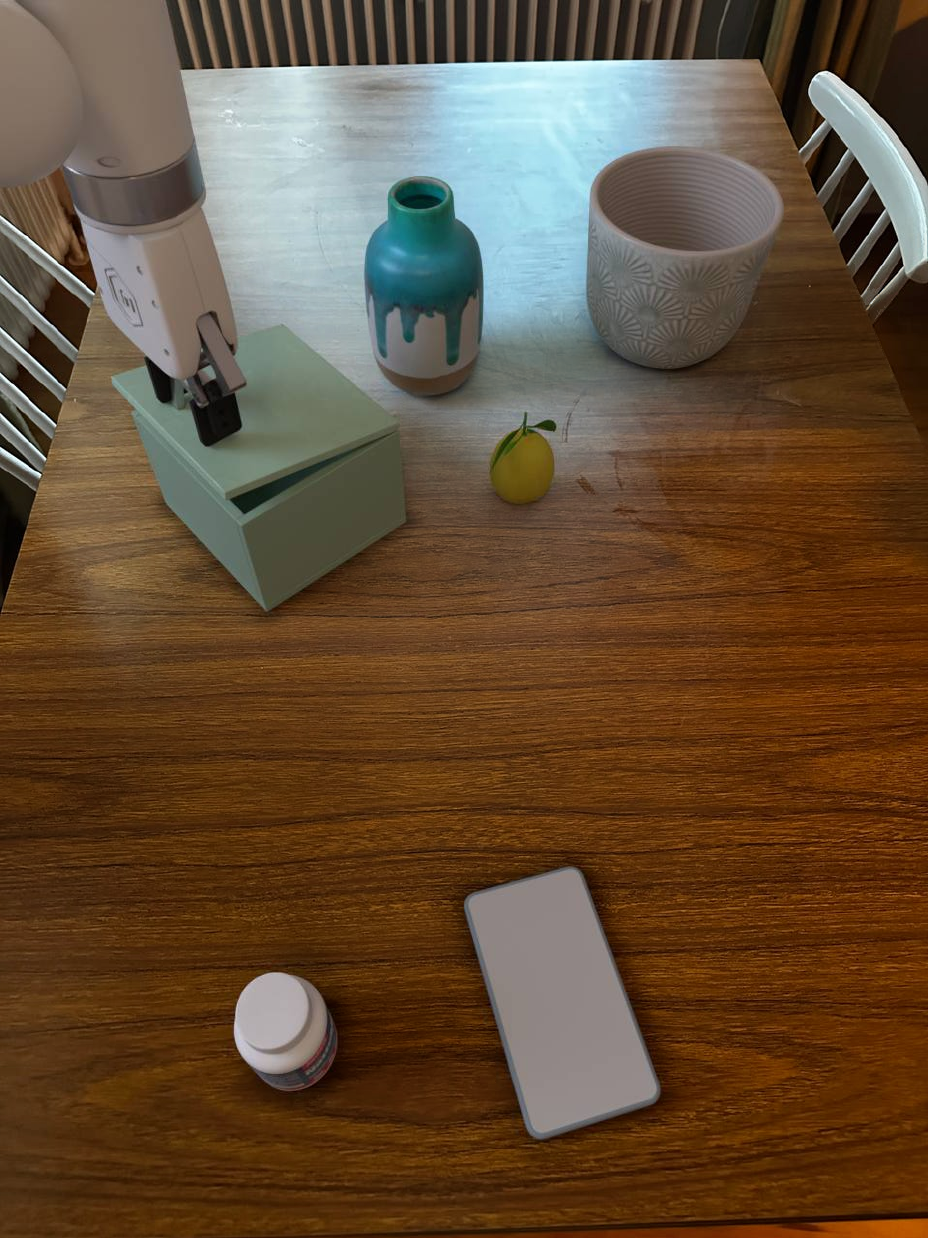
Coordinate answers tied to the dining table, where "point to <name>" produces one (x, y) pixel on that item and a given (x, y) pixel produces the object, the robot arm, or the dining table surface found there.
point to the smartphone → (559, 1003)
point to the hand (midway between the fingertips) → (199, 412)
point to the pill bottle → (285, 1031)
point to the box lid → (266, 413)
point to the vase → (424, 290)
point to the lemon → (523, 464)
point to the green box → (287, 513)
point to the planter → (676, 251)
